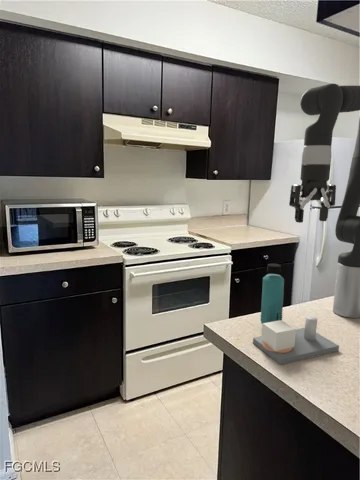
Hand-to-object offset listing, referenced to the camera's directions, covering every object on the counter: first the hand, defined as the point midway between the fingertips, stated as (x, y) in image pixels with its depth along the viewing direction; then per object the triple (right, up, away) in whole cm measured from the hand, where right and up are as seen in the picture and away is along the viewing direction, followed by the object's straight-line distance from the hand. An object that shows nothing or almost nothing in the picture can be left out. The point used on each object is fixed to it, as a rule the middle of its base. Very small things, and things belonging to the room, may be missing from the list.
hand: (311, 221), depth 97 cm
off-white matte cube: (-11, -33, -6) cm, 35 cm away
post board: (-6, -34, -4) cm, 35 cm away
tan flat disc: (-11, -33, -6) cm, 36 cm away
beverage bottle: (-9, -32, +8) cm, 35 cm away
